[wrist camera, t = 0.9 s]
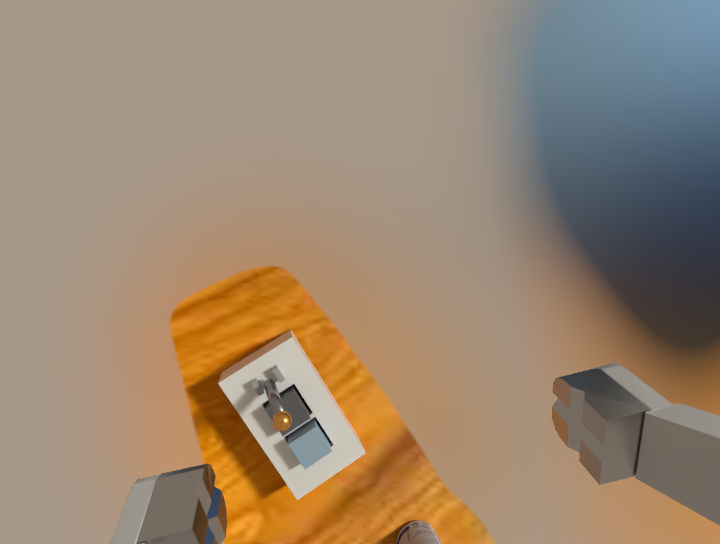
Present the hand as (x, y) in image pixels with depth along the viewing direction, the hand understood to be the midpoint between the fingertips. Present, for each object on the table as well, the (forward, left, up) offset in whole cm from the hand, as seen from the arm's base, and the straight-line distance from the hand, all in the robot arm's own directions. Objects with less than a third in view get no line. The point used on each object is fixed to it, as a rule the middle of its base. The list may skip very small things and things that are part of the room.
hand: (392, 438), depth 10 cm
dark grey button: (-11, +8, -38) cm, 40 cm away
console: (-13, +8, -41) cm, 43 cm away
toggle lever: (-7, +8, -36) cm, 38 cm away
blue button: (-16, +8, -38) cm, 41 cm away
